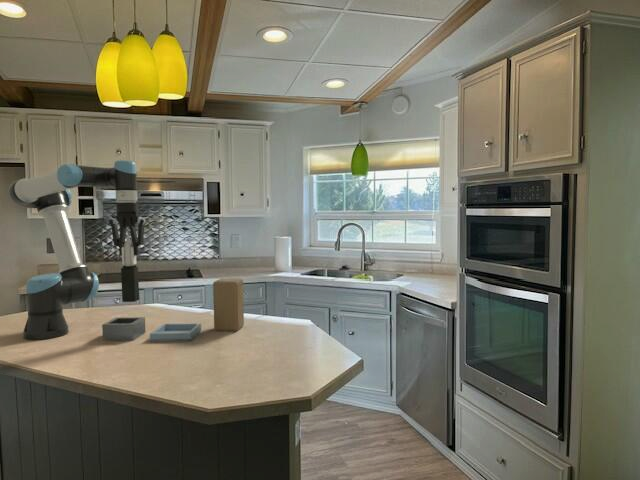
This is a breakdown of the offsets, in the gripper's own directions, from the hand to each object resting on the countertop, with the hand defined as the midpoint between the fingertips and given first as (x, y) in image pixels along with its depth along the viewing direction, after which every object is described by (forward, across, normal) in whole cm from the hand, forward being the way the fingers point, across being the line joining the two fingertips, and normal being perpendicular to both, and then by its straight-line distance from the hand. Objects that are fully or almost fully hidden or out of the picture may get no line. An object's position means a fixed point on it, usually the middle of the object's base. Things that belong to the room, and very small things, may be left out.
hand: (129, 264), depth 174 cm
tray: (+28, +17, +1) cm, 33 cm away
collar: (+28, -3, 0) cm, 28 cm away
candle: (+14, 0, 0) cm, 14 cm away
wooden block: (+29, +35, +12) cm, 46 cm away
